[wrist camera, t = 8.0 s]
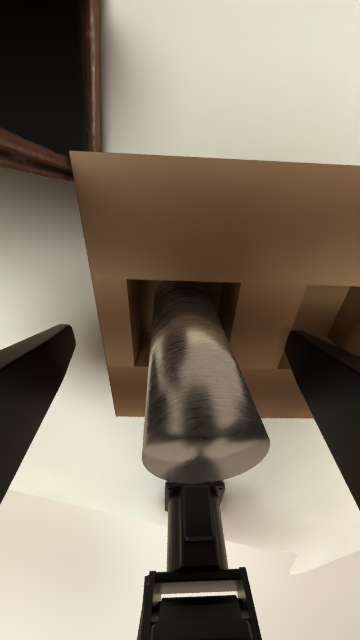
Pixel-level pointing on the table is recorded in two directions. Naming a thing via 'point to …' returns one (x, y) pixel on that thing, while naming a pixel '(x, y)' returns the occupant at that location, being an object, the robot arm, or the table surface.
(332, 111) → the table surface
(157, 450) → the pin
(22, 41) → the letter holder
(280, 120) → the table surface
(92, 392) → the table surface
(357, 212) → the block
